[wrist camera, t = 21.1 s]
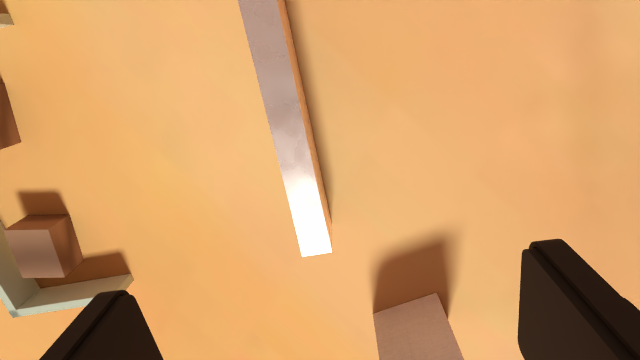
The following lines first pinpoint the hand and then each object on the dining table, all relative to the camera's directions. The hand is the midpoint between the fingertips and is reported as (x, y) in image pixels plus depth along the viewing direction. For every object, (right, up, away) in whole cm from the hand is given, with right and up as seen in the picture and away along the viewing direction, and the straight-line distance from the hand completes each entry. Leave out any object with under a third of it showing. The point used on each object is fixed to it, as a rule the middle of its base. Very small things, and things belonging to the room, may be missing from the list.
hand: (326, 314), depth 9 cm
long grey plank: (-2, +8, +22) cm, 24 cm away
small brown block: (-26, -2, +27) cm, 37 cm away
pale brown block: (+9, -11, +29) cm, 32 cm away
